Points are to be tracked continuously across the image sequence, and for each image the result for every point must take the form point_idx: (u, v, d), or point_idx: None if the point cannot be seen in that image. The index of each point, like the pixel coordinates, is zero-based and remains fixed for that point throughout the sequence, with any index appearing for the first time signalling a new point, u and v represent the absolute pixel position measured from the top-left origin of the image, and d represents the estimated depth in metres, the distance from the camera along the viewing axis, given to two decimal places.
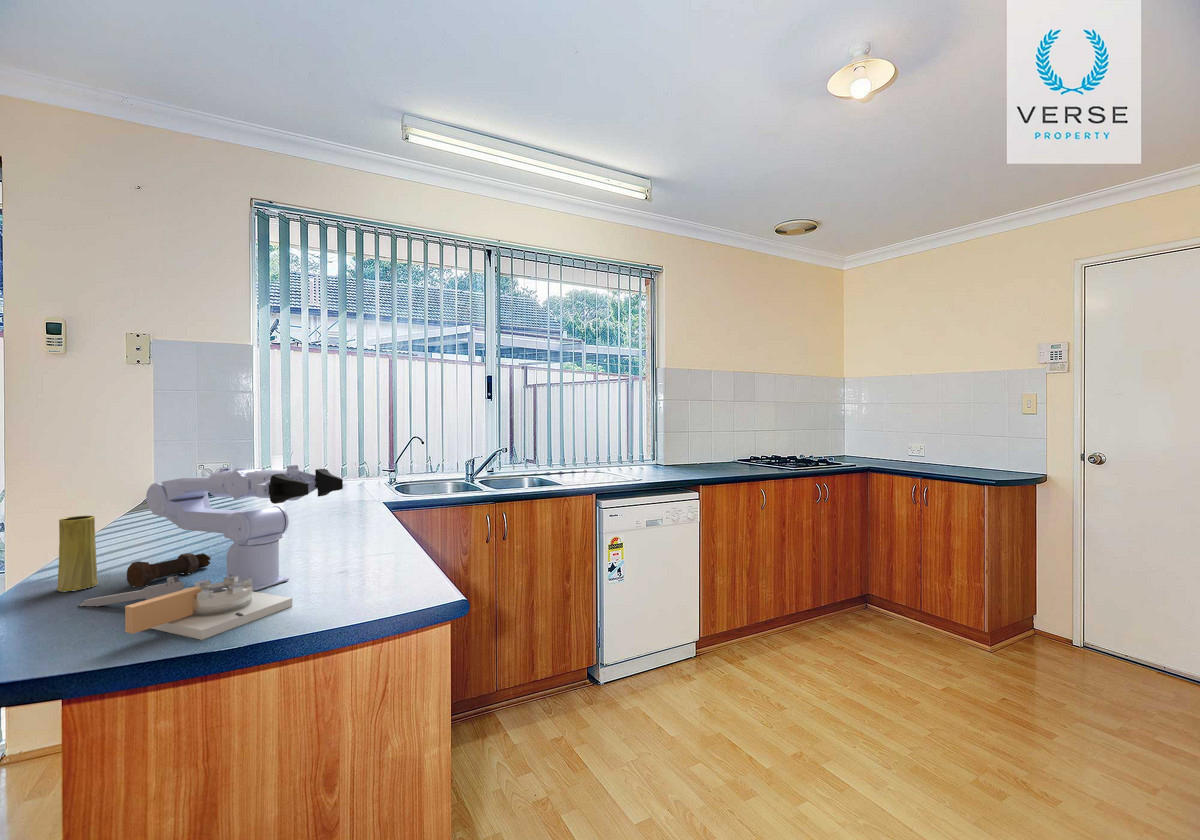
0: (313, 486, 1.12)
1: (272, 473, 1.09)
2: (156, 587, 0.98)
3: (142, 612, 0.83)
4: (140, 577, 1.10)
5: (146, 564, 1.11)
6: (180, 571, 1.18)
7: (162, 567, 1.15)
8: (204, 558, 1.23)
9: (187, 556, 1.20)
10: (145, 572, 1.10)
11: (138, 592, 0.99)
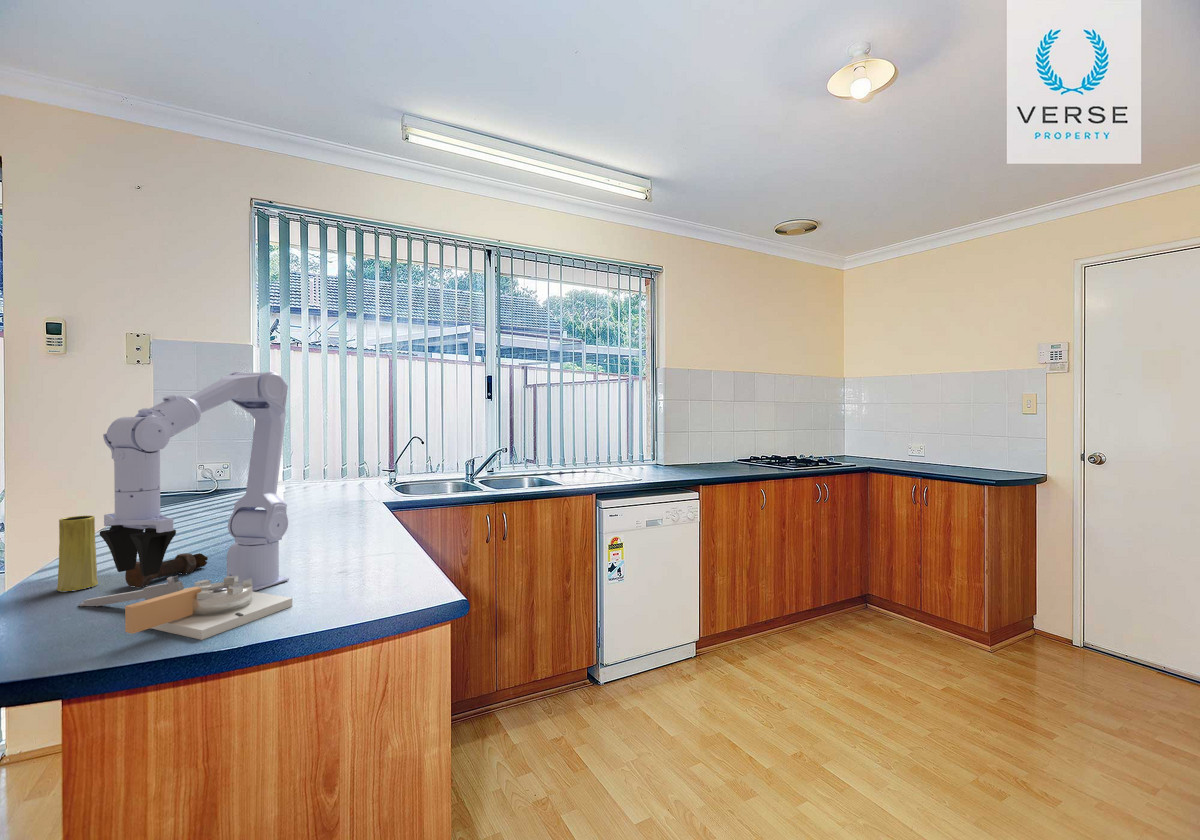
0: None
1: None
2: (156, 587, 0.98)
3: (142, 612, 0.83)
4: (139, 577, 1.10)
5: None
6: (178, 571, 1.18)
7: (161, 567, 1.15)
8: (201, 558, 1.23)
9: (185, 556, 1.20)
10: None
11: (138, 592, 0.99)
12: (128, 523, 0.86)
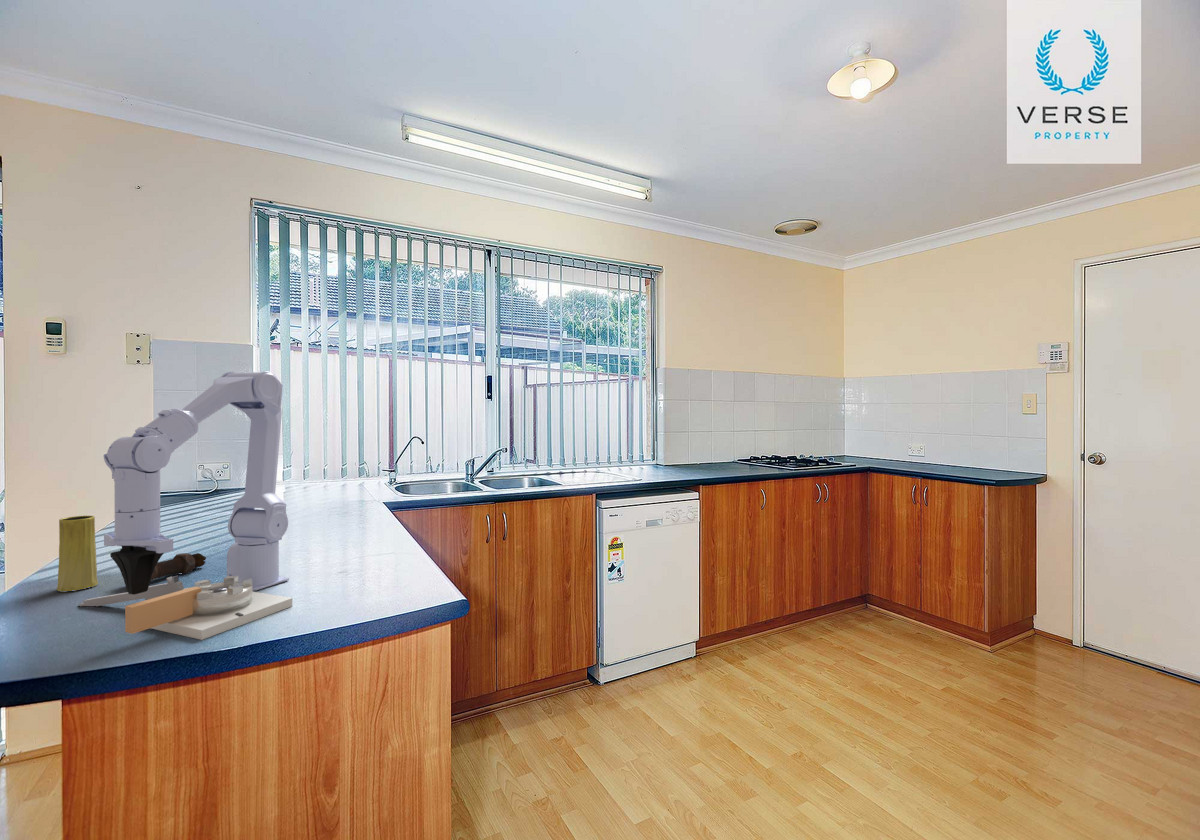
0: None
1: None
2: (156, 587, 0.98)
3: (142, 612, 0.83)
4: None
5: None
6: (177, 571, 1.18)
7: (161, 567, 1.15)
8: (200, 558, 1.23)
9: (184, 556, 1.20)
10: None
11: None
12: (128, 544, 0.86)
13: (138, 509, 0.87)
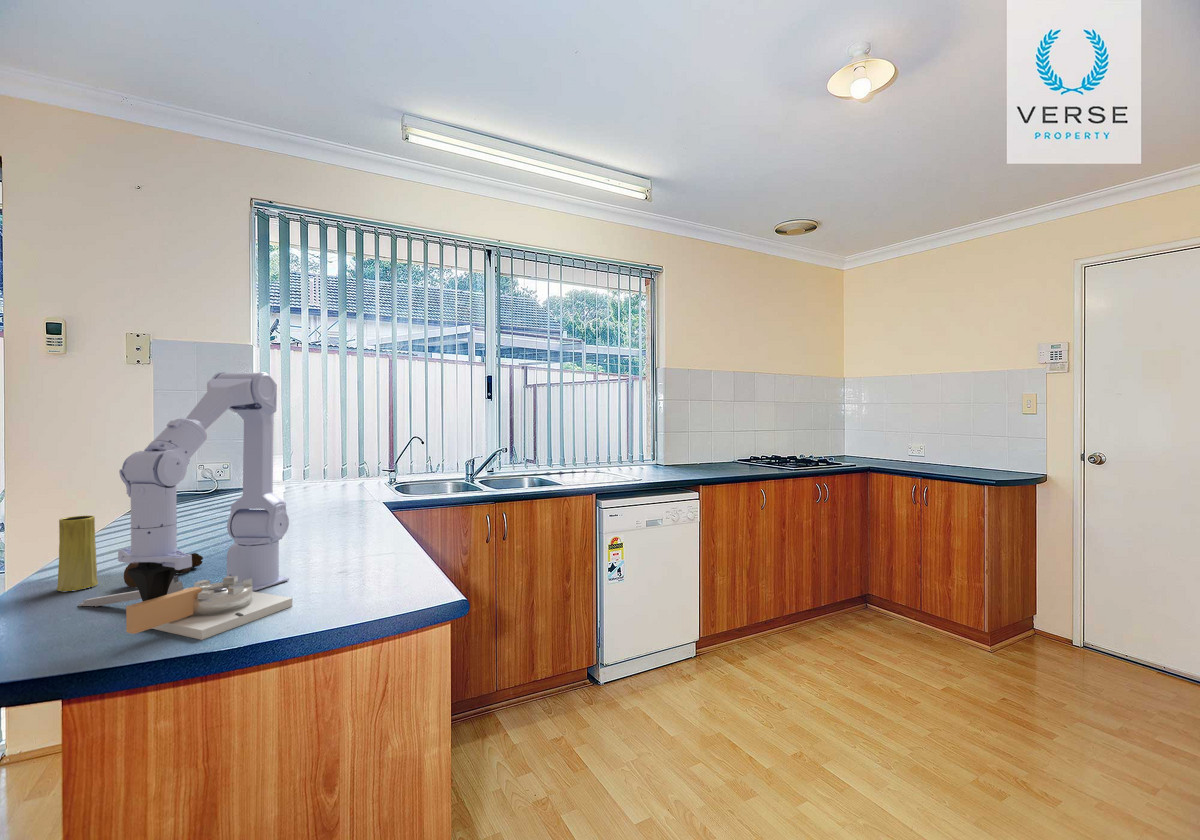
0: None
1: (131, 532, 0.85)
2: None
3: (143, 612, 0.83)
4: None
5: None
6: None
7: None
8: (197, 557, 1.24)
9: None
10: None
11: (137, 592, 0.98)
12: (145, 560, 0.84)
13: (159, 524, 0.85)
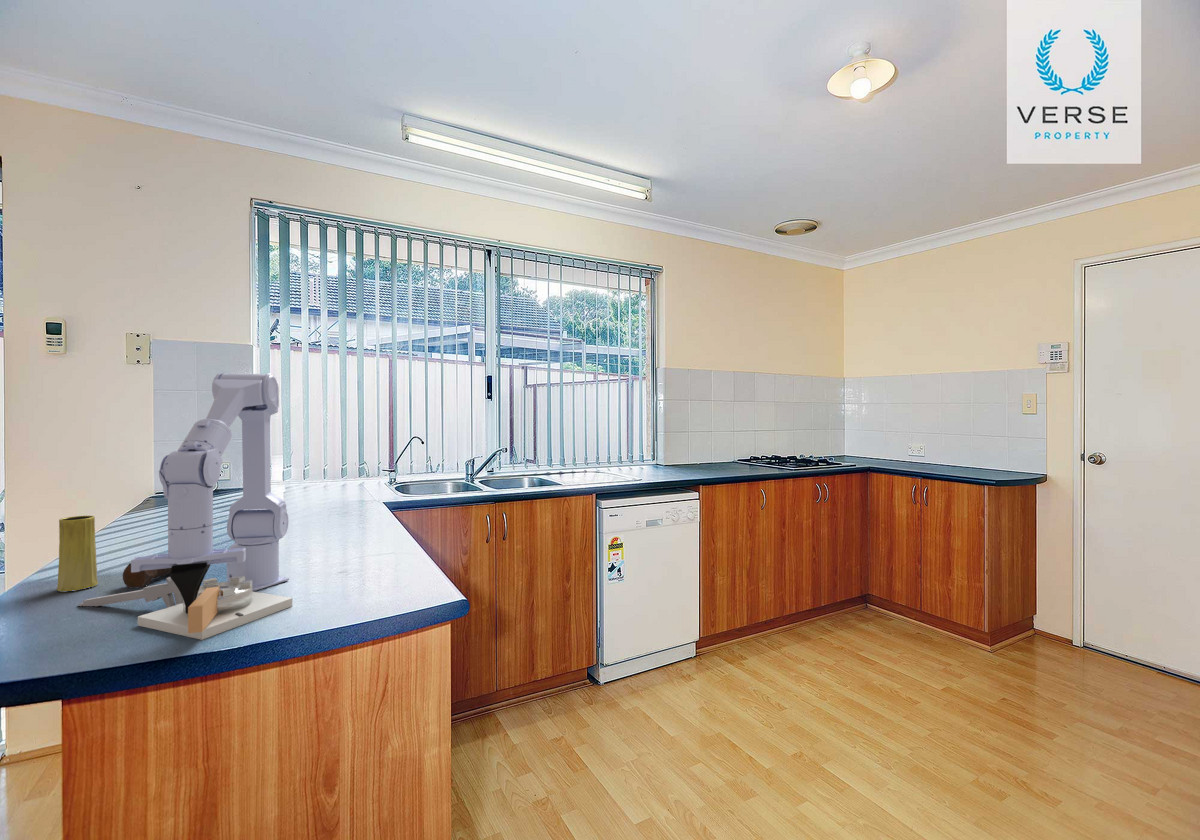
0: None
1: (174, 534, 0.83)
2: (155, 587, 0.98)
3: (204, 610, 0.84)
4: (140, 577, 1.10)
5: None
6: None
7: None
8: None
9: None
10: (147, 571, 1.10)
11: (137, 592, 0.98)
12: (203, 559, 0.85)
13: (201, 525, 0.85)
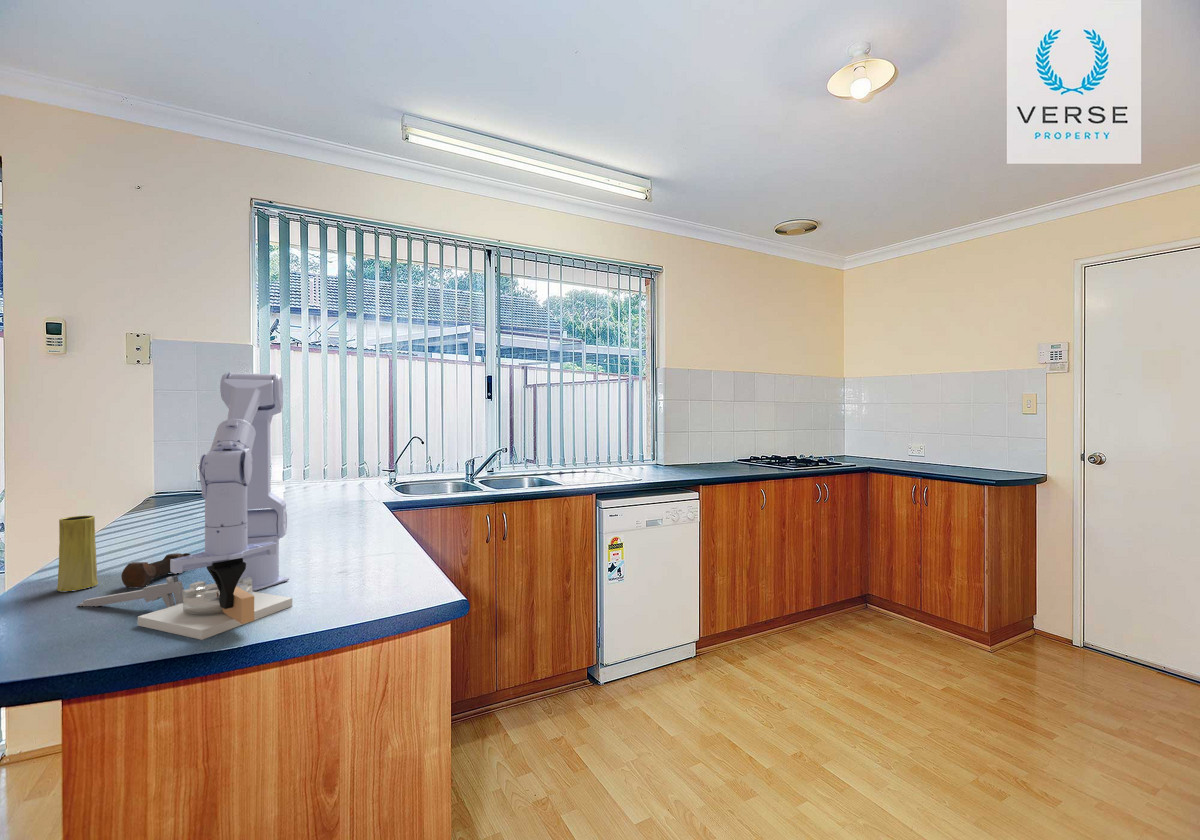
0: None
1: (222, 531, 0.86)
2: (155, 587, 0.98)
3: None
4: (140, 577, 1.10)
5: (146, 564, 1.11)
6: None
7: (158, 566, 1.15)
8: None
9: (176, 556, 1.20)
10: (147, 571, 1.10)
11: (137, 592, 0.99)
12: (247, 553, 0.89)
13: (240, 522, 0.88)
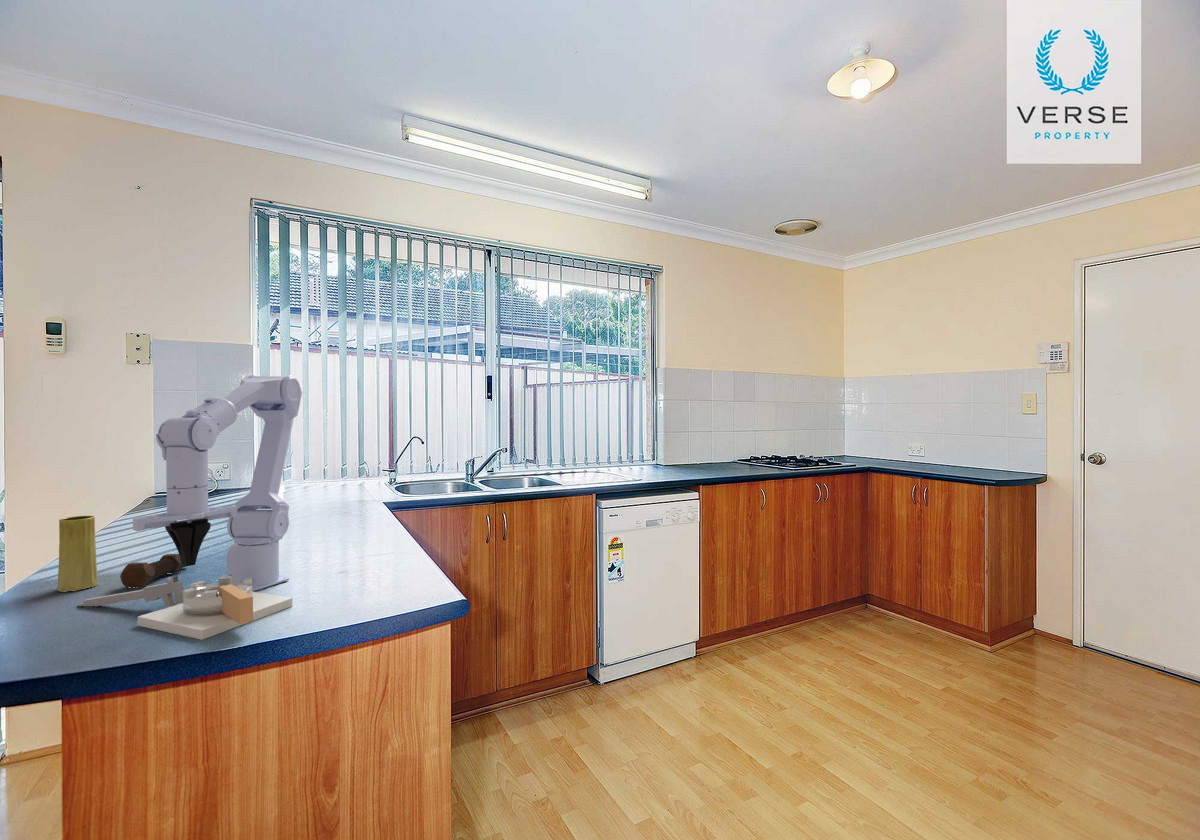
0: None
1: (183, 493, 0.91)
2: (155, 587, 0.98)
3: None
4: (141, 577, 1.10)
5: (146, 564, 1.11)
6: (168, 571, 1.18)
7: (156, 567, 1.15)
8: None
9: (173, 556, 1.20)
10: (147, 571, 1.10)
11: (137, 592, 0.99)
12: (208, 514, 0.94)
13: (193, 485, 0.92)
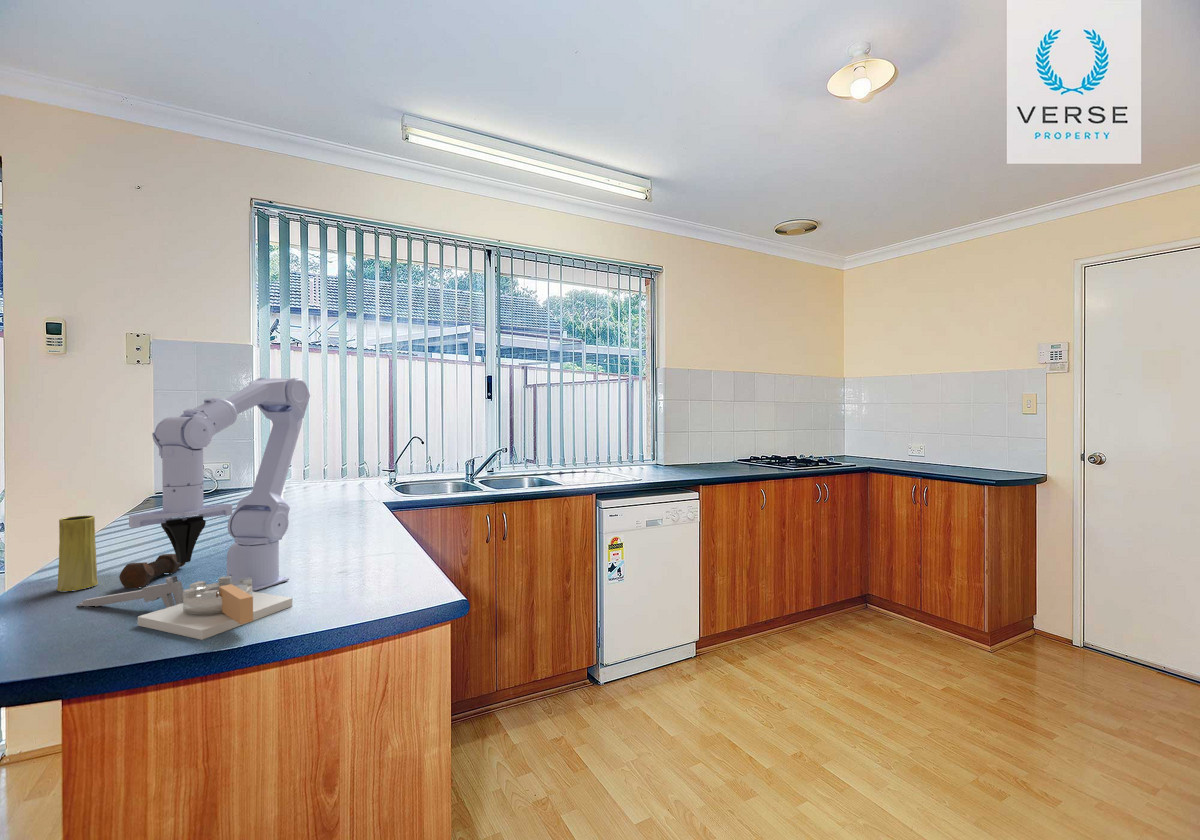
0: None
1: (178, 490, 0.93)
2: (155, 587, 0.98)
3: None
4: (141, 577, 1.10)
5: (145, 564, 1.11)
6: (166, 571, 1.18)
7: (155, 567, 1.14)
8: None
9: (170, 556, 1.20)
10: (147, 571, 1.11)
11: (137, 592, 0.98)
12: (203, 512, 0.96)
13: (186, 483, 0.93)
